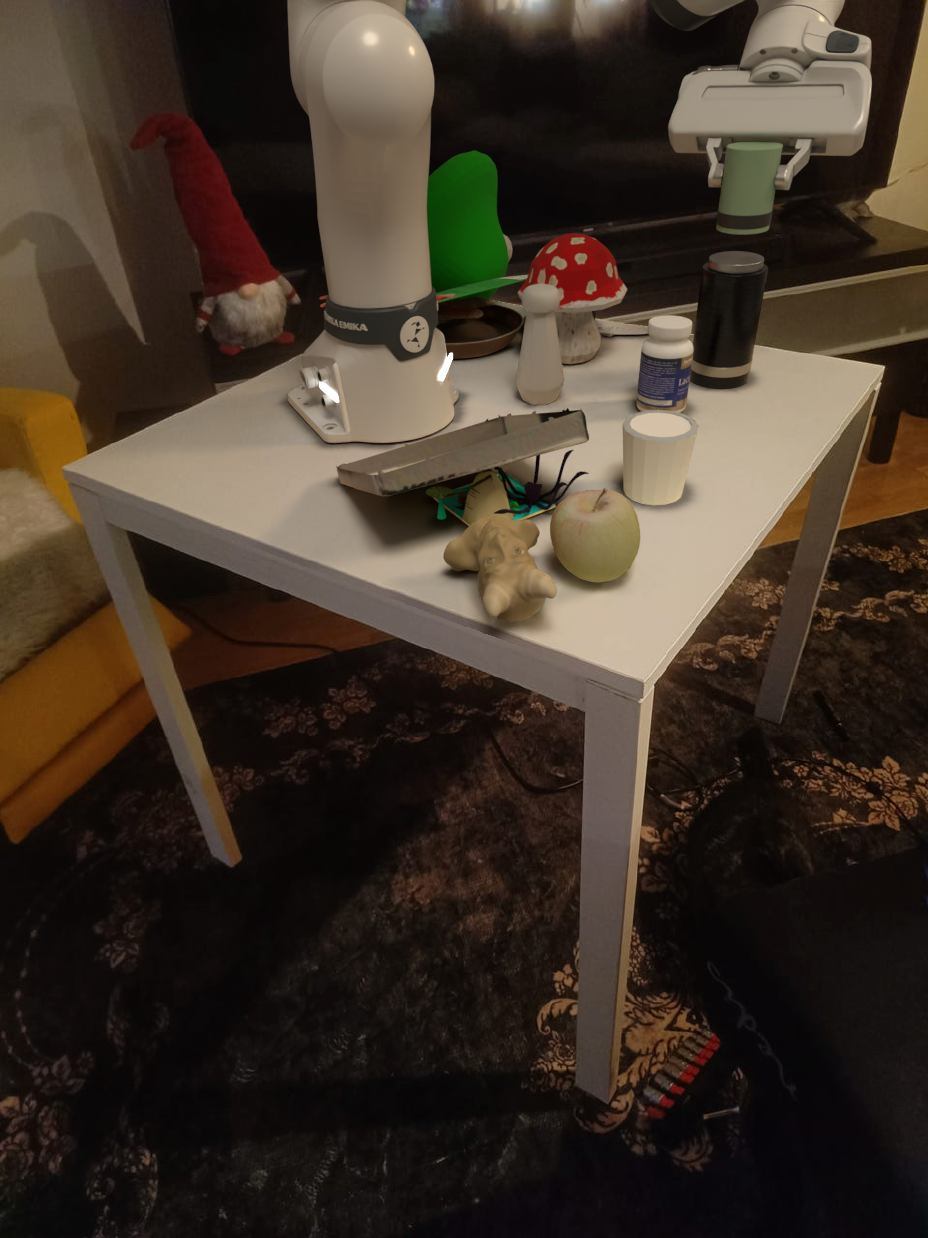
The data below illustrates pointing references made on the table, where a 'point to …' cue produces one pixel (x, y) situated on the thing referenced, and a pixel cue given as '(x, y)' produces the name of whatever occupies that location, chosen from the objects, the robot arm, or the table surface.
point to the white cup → (657, 455)
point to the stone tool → (462, 308)
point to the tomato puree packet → (478, 287)
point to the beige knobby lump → (503, 566)
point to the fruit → (595, 534)
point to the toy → (465, 224)
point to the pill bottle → (665, 365)
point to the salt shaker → (540, 347)
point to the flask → (727, 319)
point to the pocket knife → (619, 331)
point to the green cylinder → (748, 187)
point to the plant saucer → (481, 332)
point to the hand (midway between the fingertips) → (748, 185)
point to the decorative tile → (465, 451)
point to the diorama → (498, 496)
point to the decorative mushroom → (577, 290)
